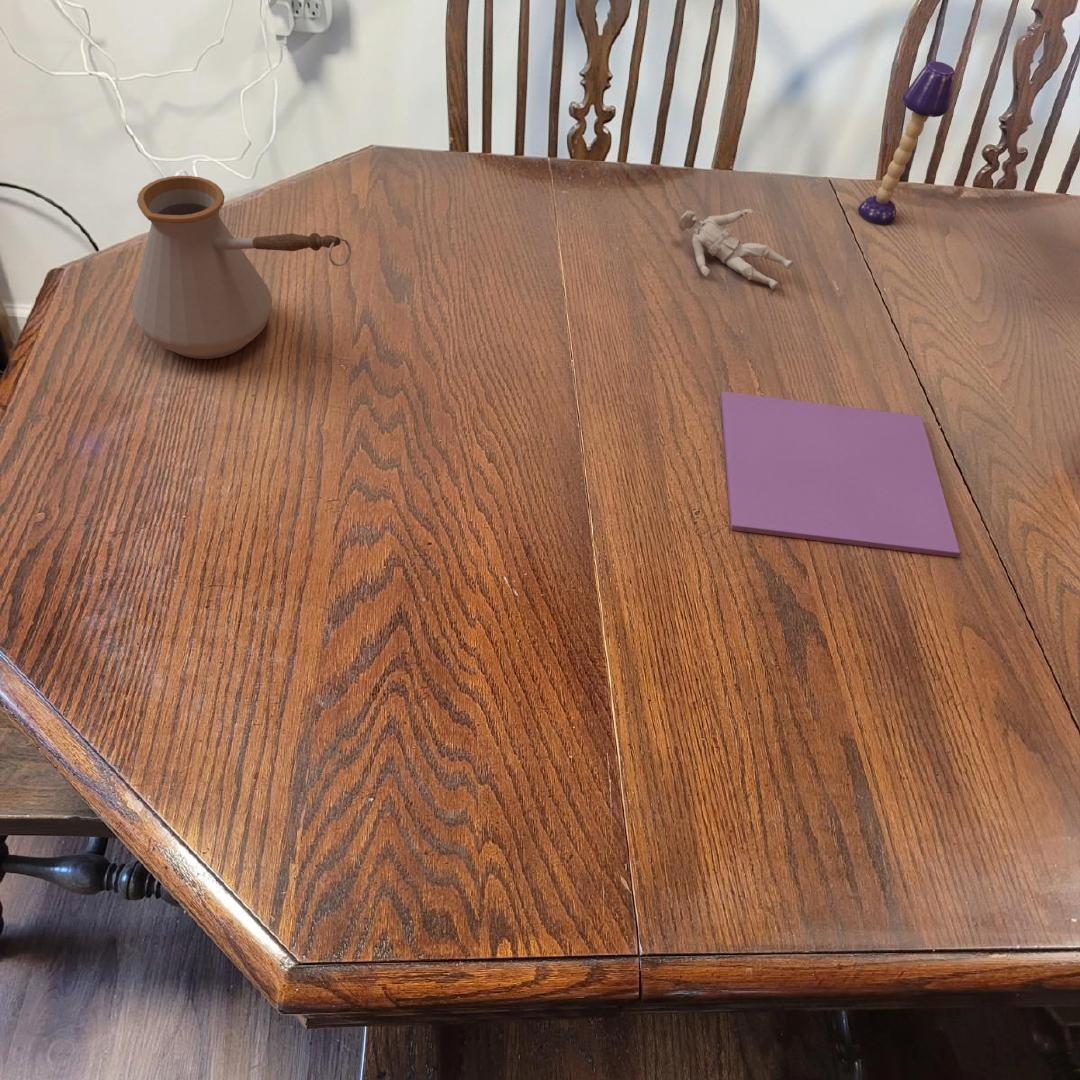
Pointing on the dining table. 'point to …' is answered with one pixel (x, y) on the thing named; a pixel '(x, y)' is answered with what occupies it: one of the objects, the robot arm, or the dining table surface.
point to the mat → (833, 475)
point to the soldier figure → (728, 245)
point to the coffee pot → (203, 271)
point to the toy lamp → (911, 135)
